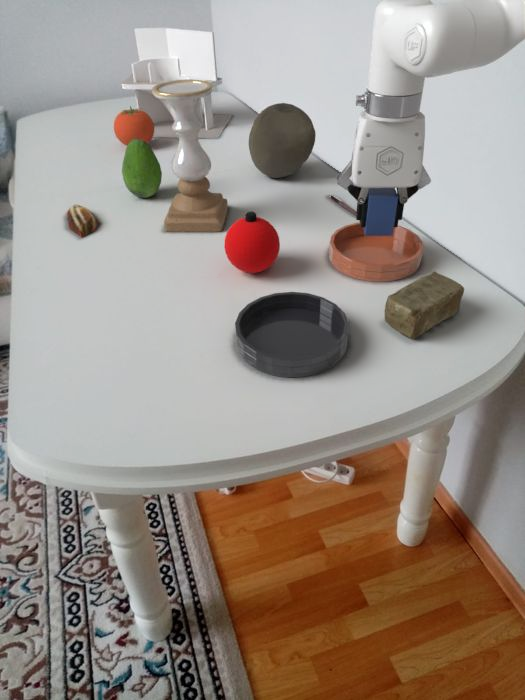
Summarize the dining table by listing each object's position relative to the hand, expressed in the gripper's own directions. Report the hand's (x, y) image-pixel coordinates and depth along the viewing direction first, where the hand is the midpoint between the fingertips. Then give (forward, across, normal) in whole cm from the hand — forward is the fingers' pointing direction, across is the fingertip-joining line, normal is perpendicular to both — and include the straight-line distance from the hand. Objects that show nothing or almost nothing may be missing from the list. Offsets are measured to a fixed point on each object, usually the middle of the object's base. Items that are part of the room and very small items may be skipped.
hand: (378, 222), depth 84 cm
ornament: (+7, -20, -4) cm, 22 cm away
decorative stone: (+7, -56, +15) cm, 58 cm away
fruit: (+7, -45, +27) cm, 53 cm away
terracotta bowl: (+6, 0, 0) cm, 6 cm away
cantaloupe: (+7, -16, +37) cm, 41 cm away
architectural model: (+7, -47, +76) cm, 90 cm away
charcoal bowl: (+6, -14, -23) cm, 27 cm away
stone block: (+7, +5, -18) cm, 19 cm away
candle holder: (+7, -32, +16) cm, 37 cm away
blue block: (+1, 0, 0) cm, 1 cm away
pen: (+7, -3, +20) cm, 22 cm away
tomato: (+7, -54, +59) cm, 80 cm away
